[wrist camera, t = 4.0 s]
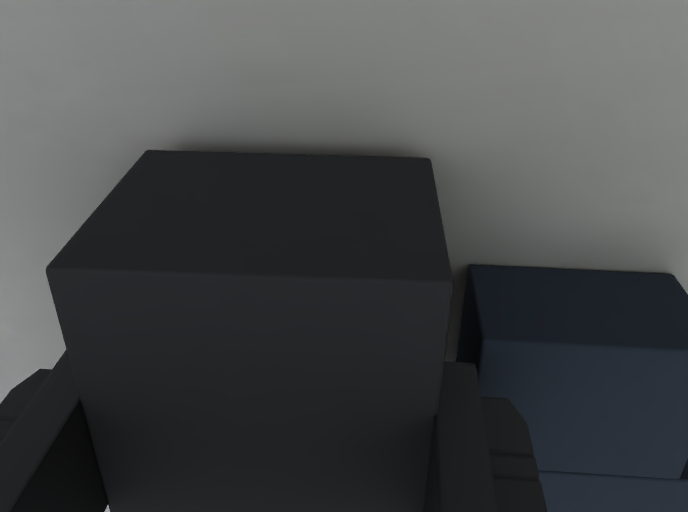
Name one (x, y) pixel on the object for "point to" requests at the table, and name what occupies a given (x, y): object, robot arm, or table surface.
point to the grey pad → (588, 379)
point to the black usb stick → (260, 331)
